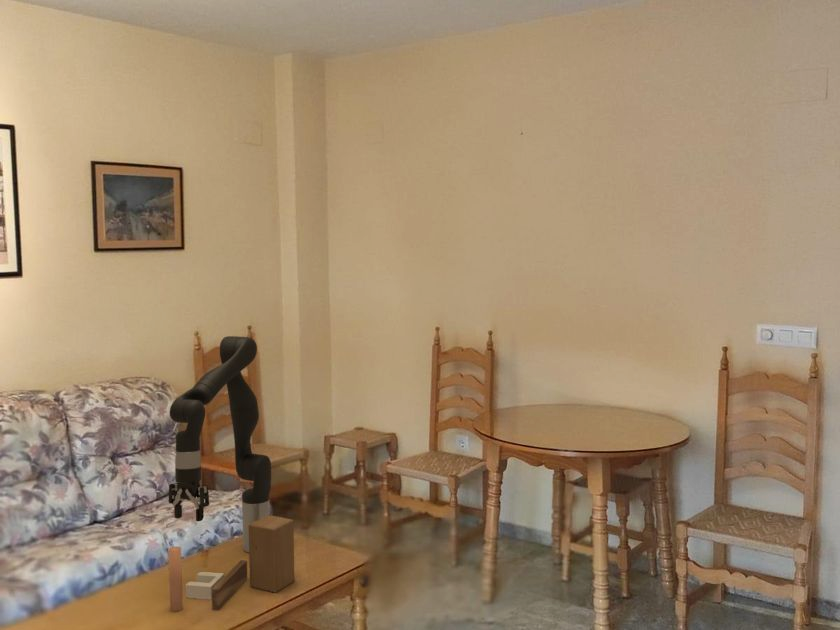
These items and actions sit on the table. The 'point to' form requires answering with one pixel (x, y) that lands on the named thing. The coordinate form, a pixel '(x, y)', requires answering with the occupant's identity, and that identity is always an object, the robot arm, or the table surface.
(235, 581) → the wall
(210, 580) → the notched block
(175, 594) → the dowel
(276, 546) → the wooden block
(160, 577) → the table surface
